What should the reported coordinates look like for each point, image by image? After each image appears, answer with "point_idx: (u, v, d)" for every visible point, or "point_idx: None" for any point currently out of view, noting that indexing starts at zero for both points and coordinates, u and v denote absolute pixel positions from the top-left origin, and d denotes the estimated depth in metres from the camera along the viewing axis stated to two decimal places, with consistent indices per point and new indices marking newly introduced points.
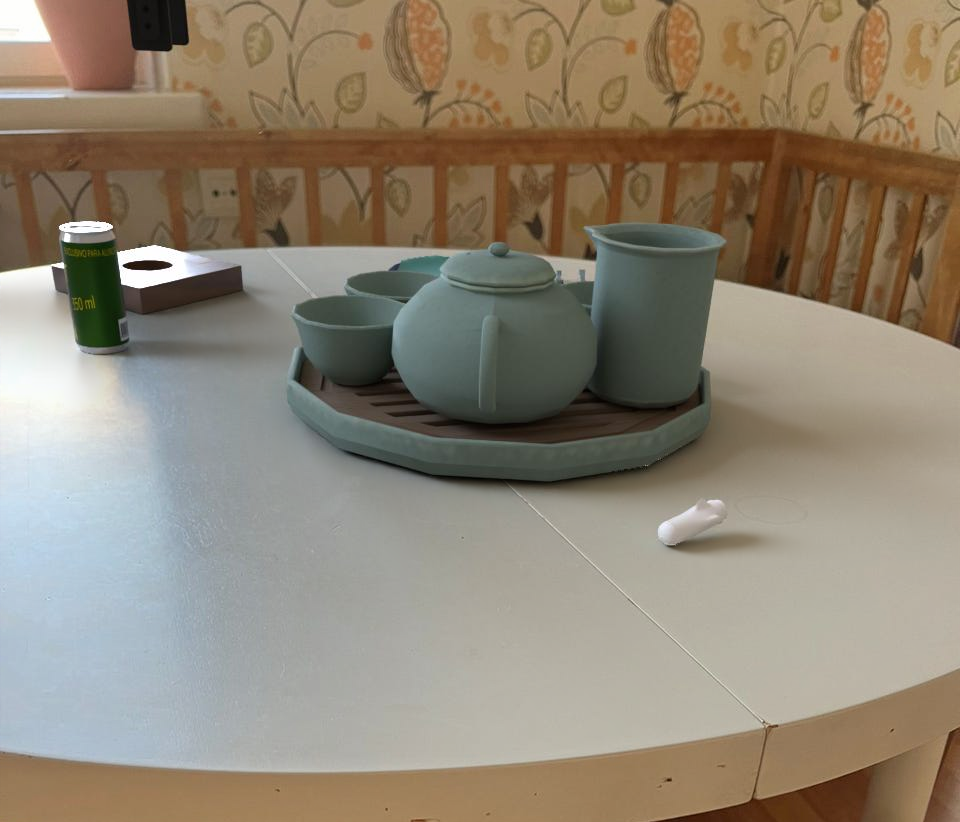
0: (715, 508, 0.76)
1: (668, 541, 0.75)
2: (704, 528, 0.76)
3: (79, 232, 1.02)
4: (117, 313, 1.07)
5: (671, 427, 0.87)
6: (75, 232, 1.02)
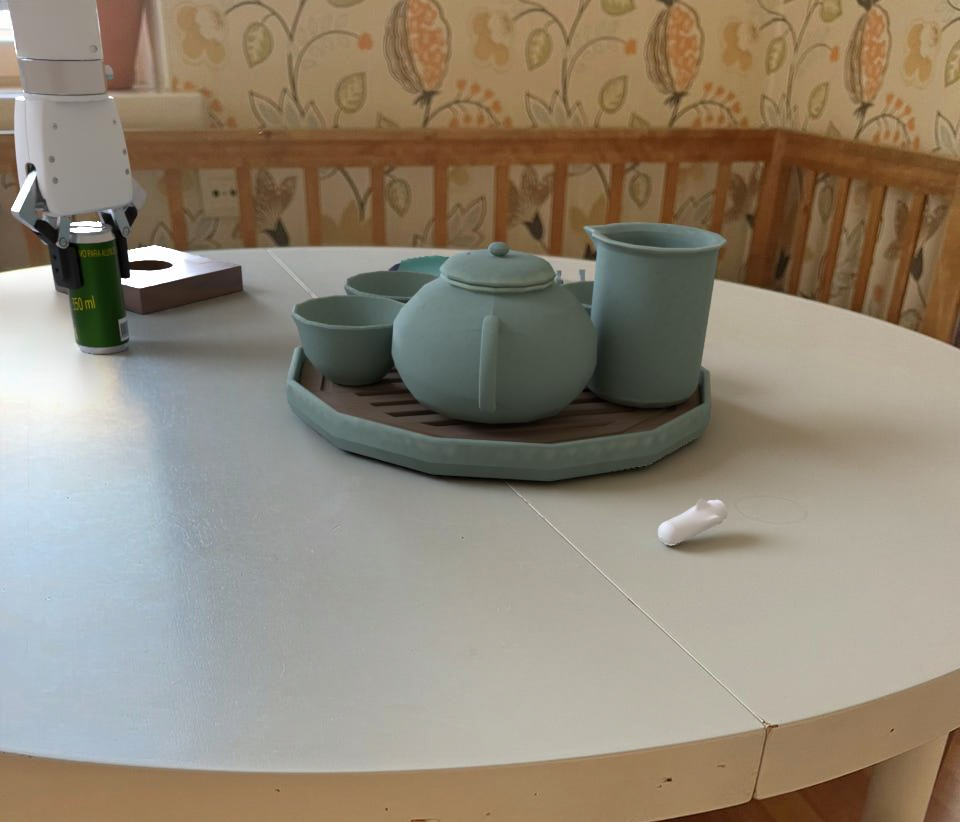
0: (715, 508, 0.76)
1: (668, 541, 0.75)
2: (704, 528, 0.76)
3: (79, 232, 1.02)
4: (117, 313, 1.07)
5: (671, 427, 0.87)
6: (75, 232, 1.02)
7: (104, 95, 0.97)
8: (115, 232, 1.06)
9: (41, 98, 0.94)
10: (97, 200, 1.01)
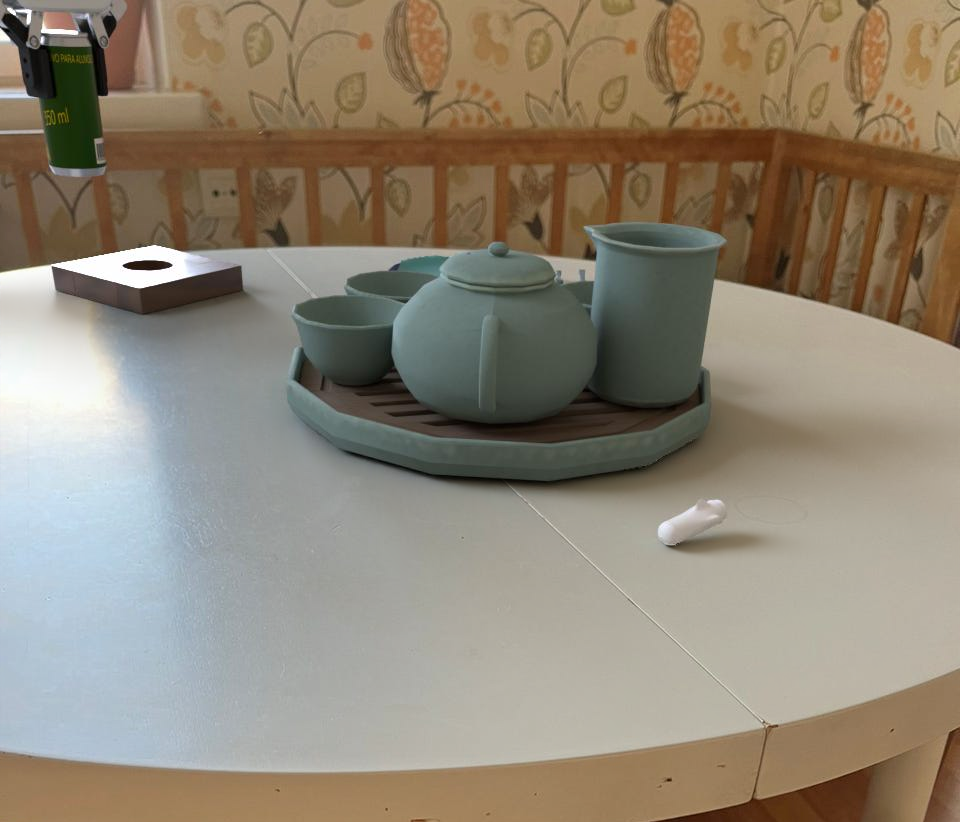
0: (715, 508, 0.76)
1: (668, 541, 0.75)
2: (704, 528, 0.76)
3: (51, 33, 0.94)
4: (93, 132, 0.99)
5: (671, 427, 0.87)
6: (47, 33, 0.94)
7: None
8: (92, 42, 0.98)
9: None
10: None
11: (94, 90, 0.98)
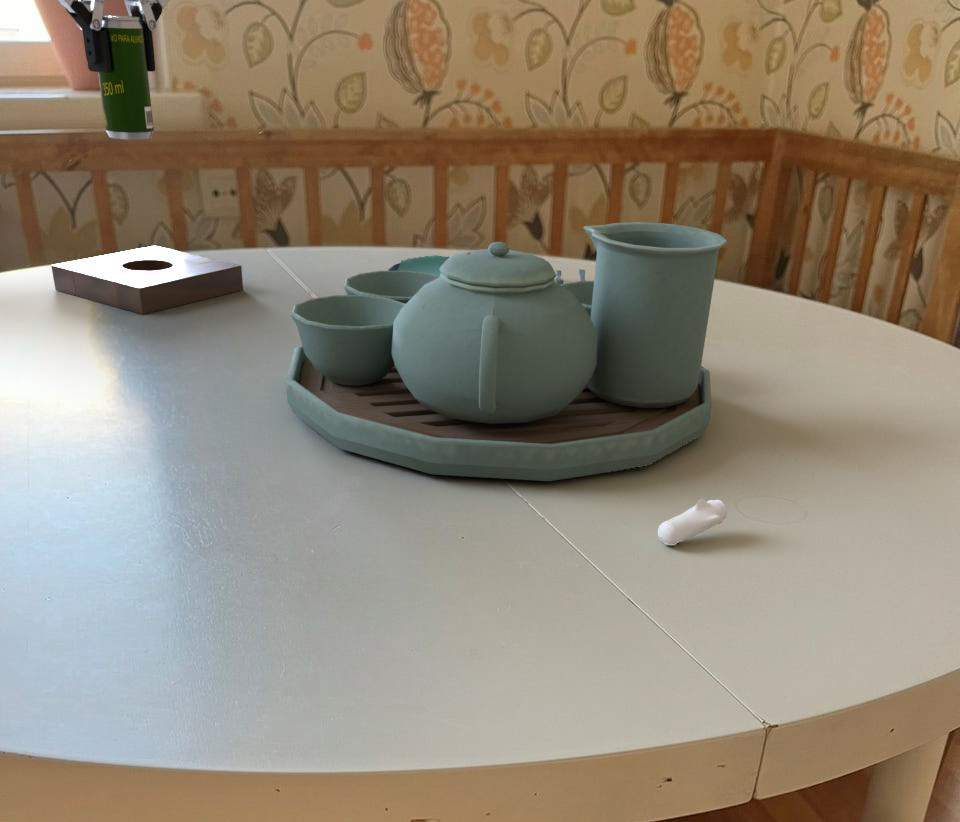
0: (715, 508, 0.76)
1: (668, 541, 0.75)
2: (704, 528, 0.76)
3: (111, 17, 1.13)
4: (144, 101, 1.18)
5: (671, 427, 0.87)
6: (107, 17, 1.13)
7: None
8: (142, 25, 1.17)
9: None
10: None
11: (144, 65, 1.17)
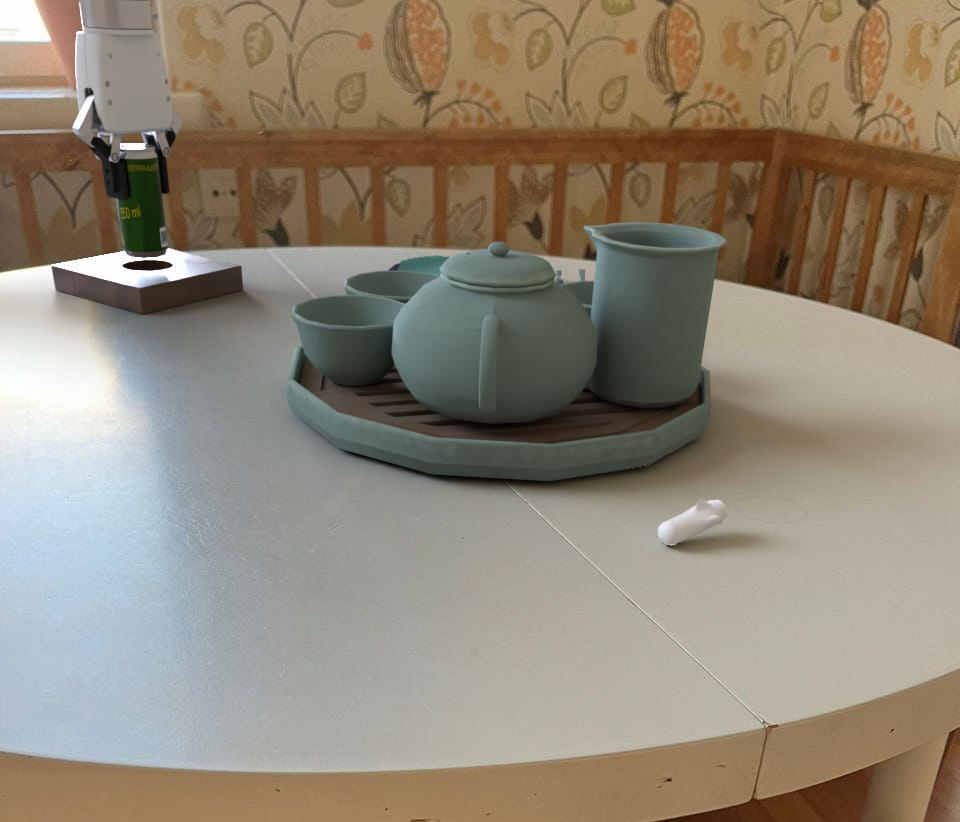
0: (715, 508, 0.76)
1: (668, 541, 0.75)
2: (704, 528, 0.76)
3: (128, 149, 1.20)
4: (159, 222, 1.25)
5: (671, 427, 0.87)
6: (124, 149, 1.20)
7: (150, 30, 1.15)
8: (157, 152, 1.24)
9: (99, 31, 1.12)
10: (143, 122, 1.19)
11: (159, 190, 1.24)
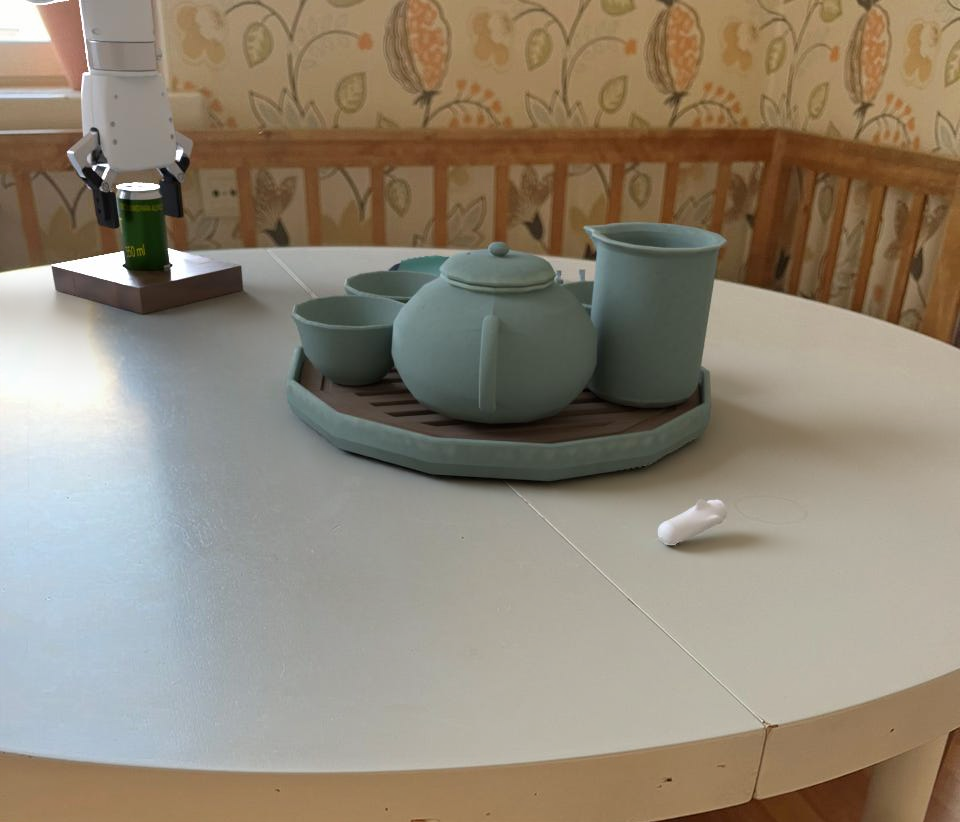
0: (715, 508, 0.76)
1: (668, 541, 0.75)
2: (704, 528, 0.76)
3: (133, 190, 1.22)
4: (163, 260, 1.27)
5: (671, 427, 0.87)
6: (130, 190, 1.22)
7: (155, 71, 1.17)
8: (172, 180, 1.27)
9: (105, 73, 1.15)
10: (147, 160, 1.21)
11: (164, 229, 1.26)
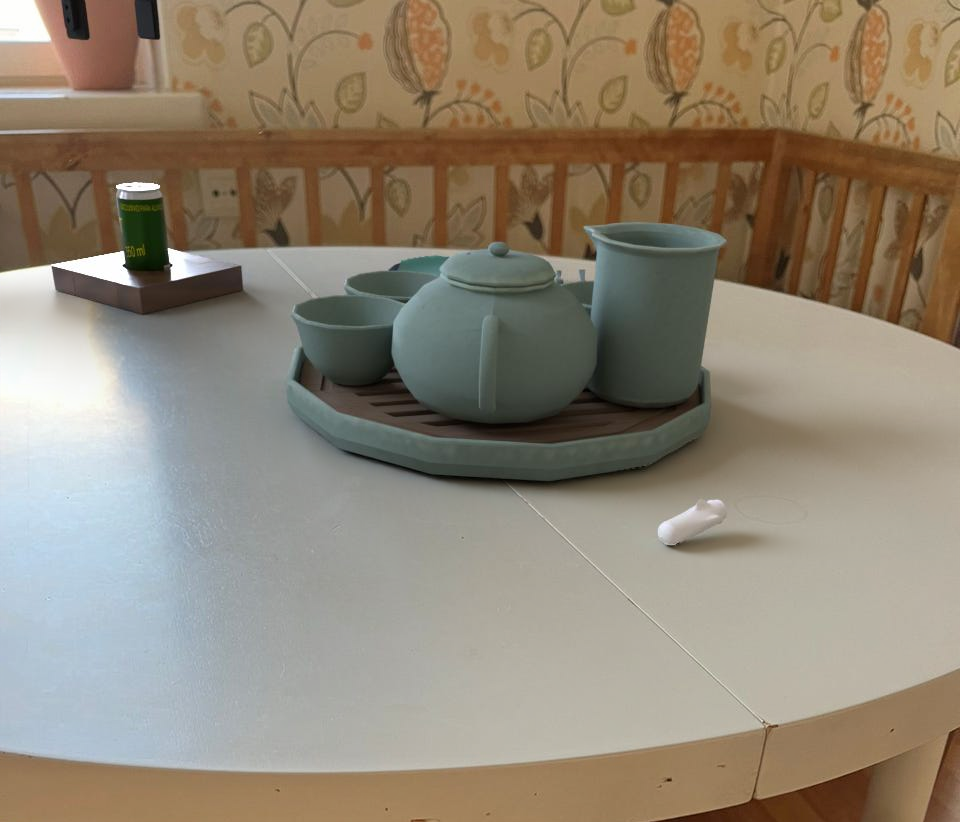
0: (715, 508, 0.76)
1: (668, 541, 0.75)
2: (704, 528, 0.76)
3: (133, 190, 1.22)
4: (163, 260, 1.27)
5: (671, 427, 0.87)
6: (130, 190, 1.22)
7: None
8: None
9: None
10: None
11: (164, 229, 1.26)
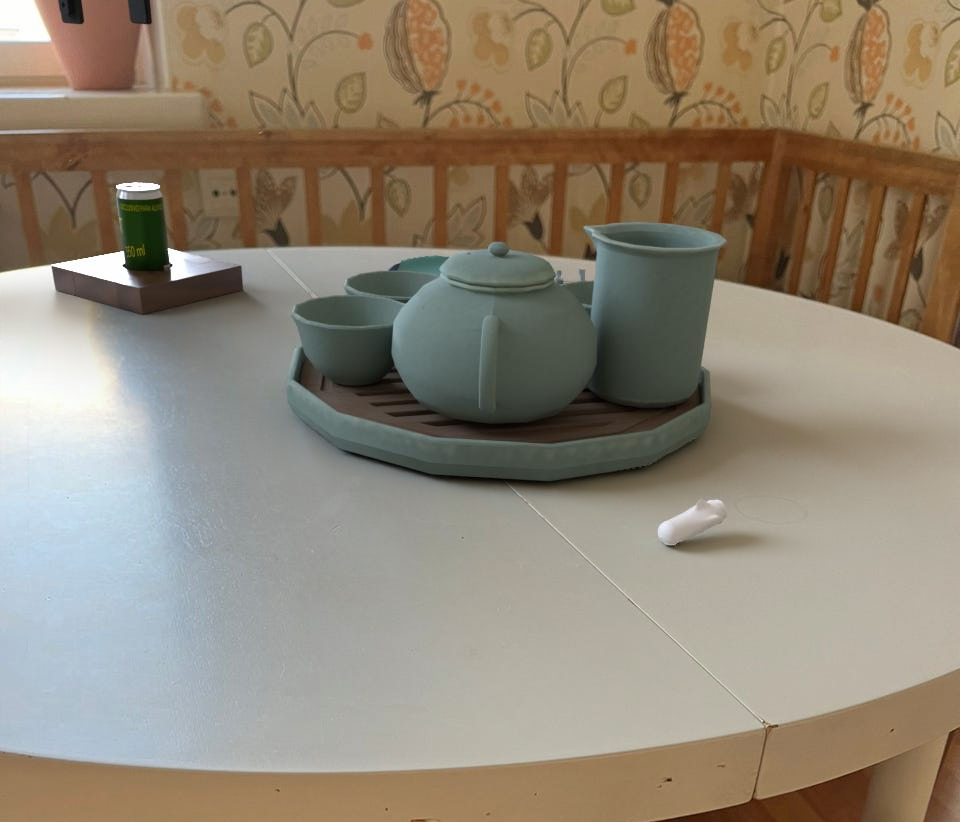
0: (715, 508, 0.76)
1: (668, 541, 0.75)
2: (704, 528, 0.76)
3: (133, 190, 1.22)
4: (163, 260, 1.27)
5: (671, 427, 0.87)
6: (130, 190, 1.22)
7: None
8: None
9: None
10: None
11: (164, 229, 1.26)
